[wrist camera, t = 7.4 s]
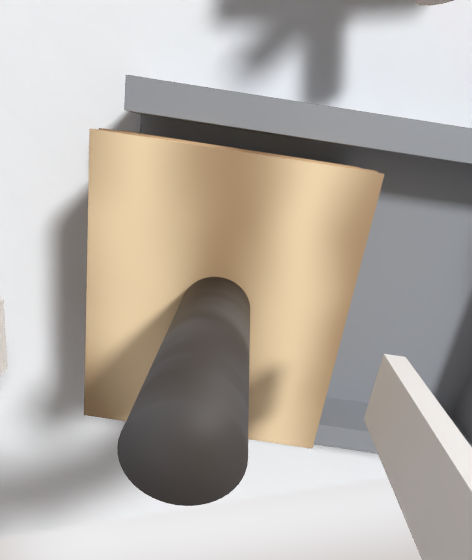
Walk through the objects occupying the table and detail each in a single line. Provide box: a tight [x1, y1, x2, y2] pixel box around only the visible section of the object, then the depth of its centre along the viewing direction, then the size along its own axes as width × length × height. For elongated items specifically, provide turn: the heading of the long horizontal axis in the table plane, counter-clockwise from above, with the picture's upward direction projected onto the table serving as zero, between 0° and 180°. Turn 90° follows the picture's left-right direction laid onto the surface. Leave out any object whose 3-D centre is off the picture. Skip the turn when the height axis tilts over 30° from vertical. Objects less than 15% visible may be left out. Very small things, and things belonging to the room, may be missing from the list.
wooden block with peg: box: [84, 128, 385, 506], centre depth 17 cm, size 12×14×15 cm
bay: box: [124, 75, 472, 453], centre depth 23 cm, size 24×19×4 cm
